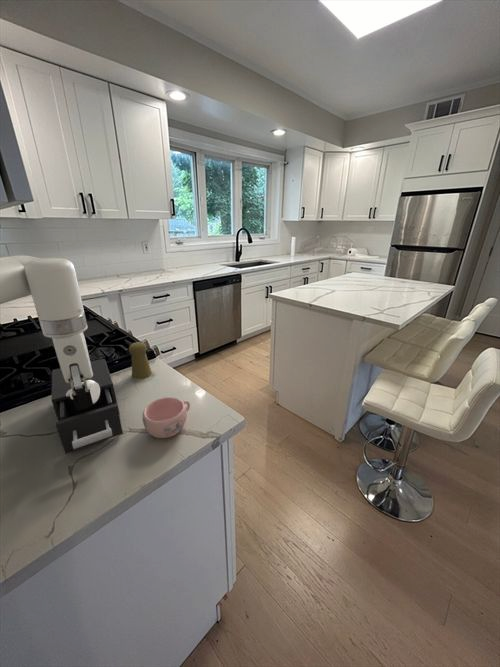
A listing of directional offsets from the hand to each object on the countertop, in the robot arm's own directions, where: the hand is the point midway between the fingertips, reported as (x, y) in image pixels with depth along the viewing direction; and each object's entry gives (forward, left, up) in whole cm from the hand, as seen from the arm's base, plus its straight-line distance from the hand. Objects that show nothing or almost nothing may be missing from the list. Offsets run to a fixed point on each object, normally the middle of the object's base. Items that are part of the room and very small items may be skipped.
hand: (83, 399), depth 61 cm
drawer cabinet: (0, +12, -10) cm, 15 cm away
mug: (+16, -7, -10) cm, 20 cm away
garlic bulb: (0, +1, -1) cm, 1 cm away
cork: (+16, +22, -10) cm, 29 cm away
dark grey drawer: (0, 0, -9) cm, 9 cm away
